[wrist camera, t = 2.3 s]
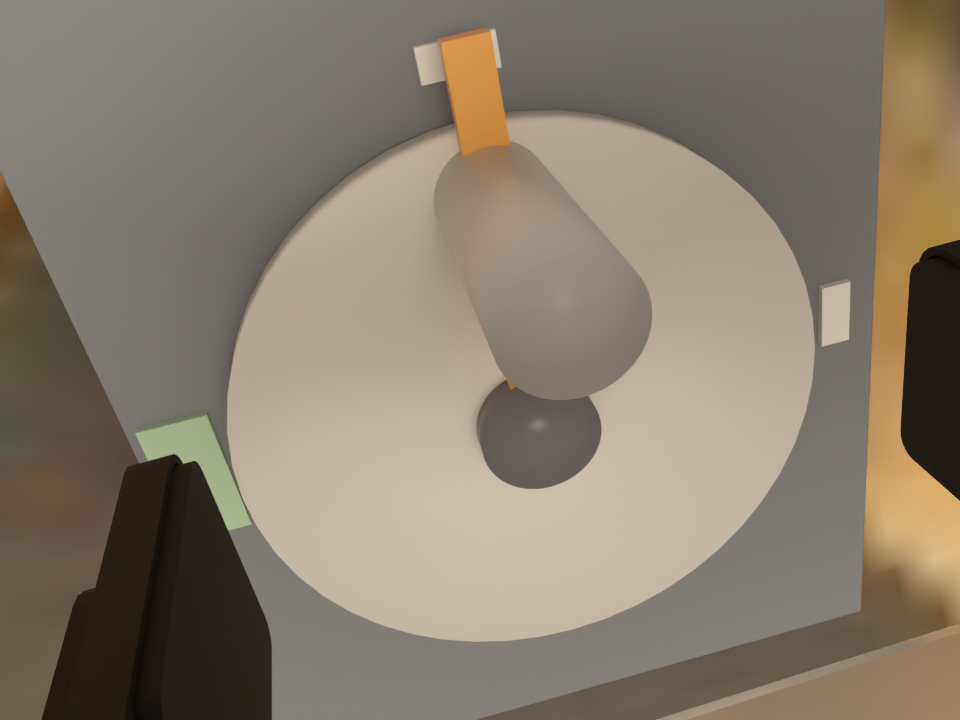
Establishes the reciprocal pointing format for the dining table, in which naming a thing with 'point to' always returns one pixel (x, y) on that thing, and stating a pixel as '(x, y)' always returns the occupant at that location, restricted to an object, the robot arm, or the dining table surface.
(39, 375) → the dining table surface
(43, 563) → the dining table surface
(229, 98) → the dial board
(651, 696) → the dining table surface
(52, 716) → the robot arm
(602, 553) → the dial
